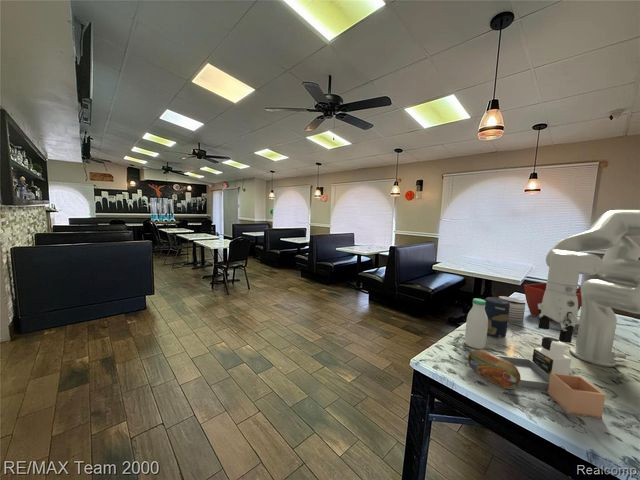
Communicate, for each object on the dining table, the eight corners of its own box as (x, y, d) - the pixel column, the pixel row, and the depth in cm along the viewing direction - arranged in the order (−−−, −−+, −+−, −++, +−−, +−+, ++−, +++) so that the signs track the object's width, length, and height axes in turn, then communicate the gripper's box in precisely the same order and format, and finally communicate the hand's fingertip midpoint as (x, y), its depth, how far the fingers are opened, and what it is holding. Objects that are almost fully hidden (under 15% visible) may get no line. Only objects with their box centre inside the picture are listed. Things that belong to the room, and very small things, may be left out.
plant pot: (519, 312, 143) (523, 284, 142) (541, 309, 149) (545, 282, 147) (559, 327, 125) (564, 295, 123) (583, 323, 131) (587, 292, 129)
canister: (501, 332, 118) (505, 295, 116) (509, 341, 109) (514, 302, 107) (478, 328, 121) (482, 293, 119) (484, 337, 112) (488, 299, 110)
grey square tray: (529, 365, 92) (530, 358, 92) (559, 392, 78) (560, 384, 78) (487, 360, 94) (488, 354, 94) (509, 385, 80) (510, 378, 80)
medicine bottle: (530, 365, 92) (535, 335, 90) (548, 365, 92) (552, 334, 91) (550, 378, 85) (555, 345, 83) (569, 377, 85) (574, 345, 84)
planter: (577, 397, 76) (580, 376, 75) (601, 418, 68) (605, 395, 67) (547, 393, 77) (550, 372, 76) (568, 413, 69) (572, 390, 69)
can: (492, 317, 135) (494, 296, 134) (504, 314, 140) (506, 293, 139) (515, 326, 125) (518, 303, 124) (527, 322, 130) (530, 300, 128)
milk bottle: (488, 350, 101) (494, 304, 99) (468, 348, 102) (473, 302, 100) (480, 341, 108) (485, 297, 106) (461, 339, 110) (465, 295, 108)
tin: (466, 368, 89) (468, 346, 88) (470, 365, 90) (473, 344, 90) (516, 395, 76) (519, 369, 75) (520, 391, 78) (523, 366, 77)
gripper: (597, 297, 76) (587, 349, 78) (554, 282, 93) (547, 325, 95) (569, 294, 77) (560, 346, 79) (531, 280, 94) (525, 323, 96)
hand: (553, 335), depth 87 cm, fingers open, 9 cm apart
